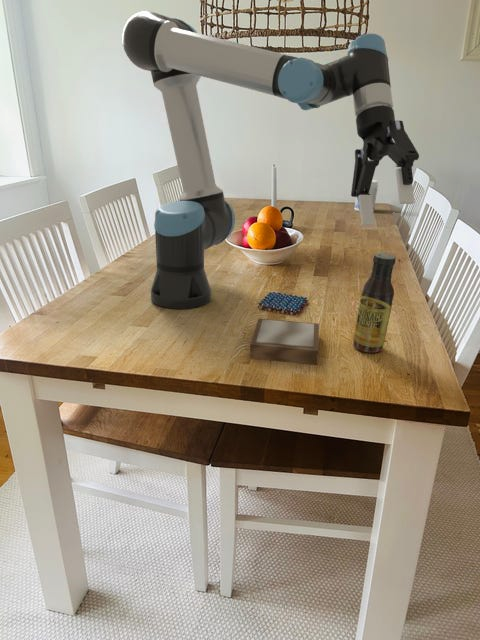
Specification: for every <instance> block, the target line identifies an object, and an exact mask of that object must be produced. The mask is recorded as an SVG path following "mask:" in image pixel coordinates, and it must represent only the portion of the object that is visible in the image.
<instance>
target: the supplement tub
mask: <svg viewBox="0 0 480 640" xmlns="http://www.w3.org/2000/svg"><path fill="white" fill-rule="evenodd" d="M378 185H379V180H376V179H372V183H371V187H370V190H369V194H370V195H371V198H372V207H373V212H374V211H375V206H376V199H377V194H378V187H379V186H378ZM364 190H365V189H364ZM354 210H355V211H356V212H359V213H360V210H359V202H358V197H355V202H354Z"/></svg>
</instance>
